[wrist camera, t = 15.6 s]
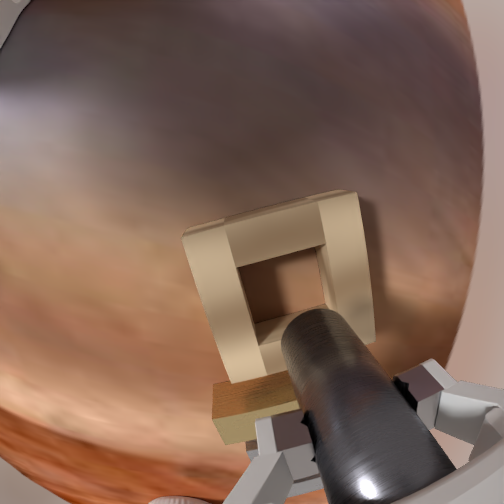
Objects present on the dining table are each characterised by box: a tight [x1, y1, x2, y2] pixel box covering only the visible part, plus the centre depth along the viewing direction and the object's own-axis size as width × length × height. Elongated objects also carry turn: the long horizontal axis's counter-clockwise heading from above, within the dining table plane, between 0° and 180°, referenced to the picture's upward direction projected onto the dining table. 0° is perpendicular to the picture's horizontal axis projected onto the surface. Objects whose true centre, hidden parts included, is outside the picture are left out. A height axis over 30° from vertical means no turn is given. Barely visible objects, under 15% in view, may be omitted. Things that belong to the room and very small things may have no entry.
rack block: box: [181, 189, 376, 384], centre depth 19 cm, size 10×10×3 cm
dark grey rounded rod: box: [281, 308, 457, 504], centre depth 8 cm, size 3×3×10 cm
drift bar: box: [212, 370, 299, 445], centre depth 21 cm, size 3×6×4 cm, turn 104°
